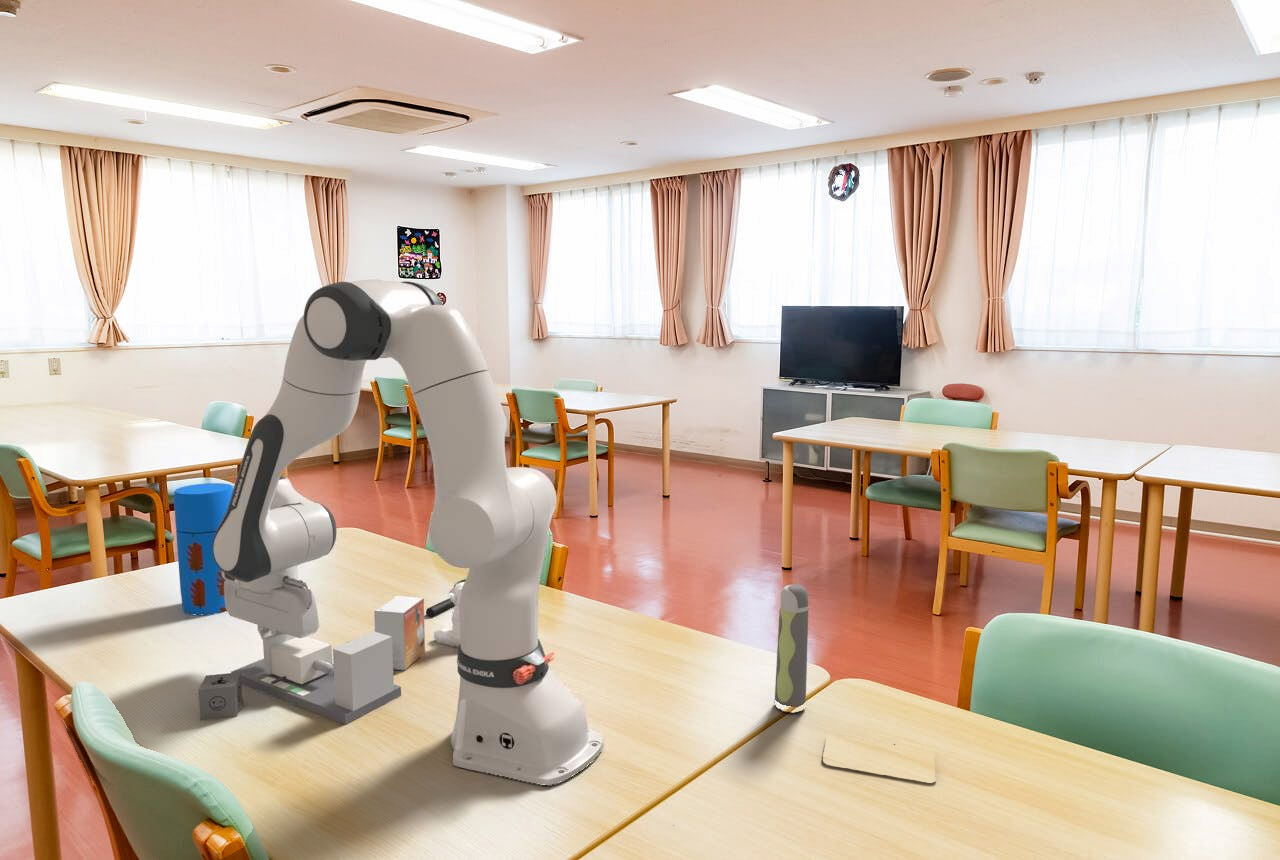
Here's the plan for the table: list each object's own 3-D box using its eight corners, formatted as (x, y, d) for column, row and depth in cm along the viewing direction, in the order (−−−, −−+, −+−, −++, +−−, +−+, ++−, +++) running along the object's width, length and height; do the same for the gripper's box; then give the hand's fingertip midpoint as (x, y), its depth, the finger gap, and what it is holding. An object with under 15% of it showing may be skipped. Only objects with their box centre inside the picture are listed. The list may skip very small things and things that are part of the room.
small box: (405, 671, 141) (403, 613, 139) (375, 668, 142) (373, 610, 140) (426, 652, 148) (424, 597, 147) (397, 650, 149) (396, 594, 148)
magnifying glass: (405, 613, 168) (405, 603, 168) (476, 581, 190) (476, 572, 189) (454, 623, 163) (454, 613, 163) (521, 589, 184) (521, 580, 184)
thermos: (251, 603, 171) (244, 487, 168) (201, 619, 162) (192, 496, 159) (221, 593, 177) (214, 480, 173) (171, 608, 168) (162, 489, 164)
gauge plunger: (254, 677, 133) (252, 642, 132) (301, 657, 141) (299, 624, 140) (300, 694, 127) (298, 658, 126) (347, 673, 135) (345, 639, 134)
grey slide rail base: (231, 680, 136) (227, 620, 135) (289, 656, 146) (286, 600, 144) (345, 724, 122) (342, 658, 121) (401, 695, 132) (399, 633, 130)
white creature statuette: (479, 629, 159) (478, 570, 158) (497, 644, 152) (496, 582, 150) (432, 639, 154) (431, 578, 152) (448, 656, 147) (447, 592, 145)
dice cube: (200, 721, 123) (198, 689, 122) (208, 705, 128) (205, 675, 127) (236, 717, 125) (234, 686, 124) (242, 701, 129) (241, 672, 129)
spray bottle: (786, 697, 133) (791, 579, 130) (811, 707, 129) (817, 586, 127) (768, 707, 130) (772, 586, 127) (793, 718, 126) (798, 594, 123)
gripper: (326, 577, 134) (330, 657, 136) (248, 557, 144) (253, 631, 147) (293, 588, 129) (297, 671, 131) (214, 566, 139) (220, 643, 141)
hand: (273, 650), depth 139 cm, fingers closed
